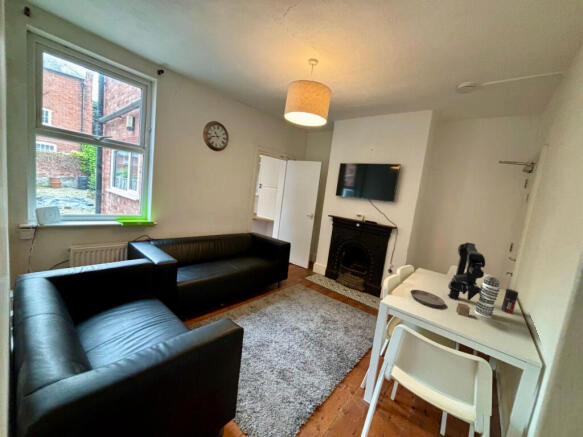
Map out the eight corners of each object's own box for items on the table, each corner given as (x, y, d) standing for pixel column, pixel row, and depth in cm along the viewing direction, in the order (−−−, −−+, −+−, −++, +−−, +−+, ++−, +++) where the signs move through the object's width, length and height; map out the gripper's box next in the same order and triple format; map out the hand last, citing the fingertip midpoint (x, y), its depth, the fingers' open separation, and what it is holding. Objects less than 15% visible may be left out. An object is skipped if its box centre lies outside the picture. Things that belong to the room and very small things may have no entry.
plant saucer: (433, 296, 167) (434, 292, 166) (450, 311, 146) (451, 306, 146) (404, 291, 168) (405, 287, 168) (417, 305, 148) (418, 301, 148)
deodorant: (509, 310, 158) (515, 290, 156) (514, 314, 153) (520, 293, 151) (499, 308, 160) (504, 288, 158) (503, 312, 155) (509, 291, 152)
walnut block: (456, 311, 147) (458, 302, 146) (465, 313, 146) (467, 304, 145) (458, 314, 143) (460, 305, 142) (467, 317, 141) (470, 308, 140)
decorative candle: (496, 318, 144) (506, 281, 140) (484, 318, 142) (494, 280, 139) (482, 310, 153) (491, 275, 149) (470, 310, 151) (479, 274, 148)
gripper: (452, 265, 152) (447, 287, 154) (461, 274, 135) (455, 299, 137) (472, 270, 148) (466, 292, 150) (484, 279, 131) (477, 304, 133)
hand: (466, 296), depth 143 cm, fingers open, 9 cm apart
